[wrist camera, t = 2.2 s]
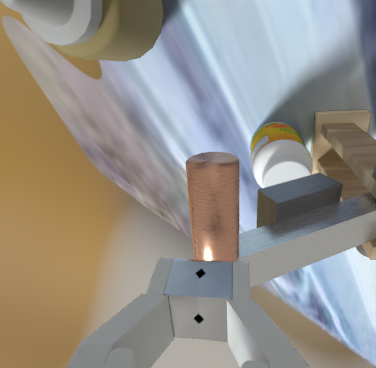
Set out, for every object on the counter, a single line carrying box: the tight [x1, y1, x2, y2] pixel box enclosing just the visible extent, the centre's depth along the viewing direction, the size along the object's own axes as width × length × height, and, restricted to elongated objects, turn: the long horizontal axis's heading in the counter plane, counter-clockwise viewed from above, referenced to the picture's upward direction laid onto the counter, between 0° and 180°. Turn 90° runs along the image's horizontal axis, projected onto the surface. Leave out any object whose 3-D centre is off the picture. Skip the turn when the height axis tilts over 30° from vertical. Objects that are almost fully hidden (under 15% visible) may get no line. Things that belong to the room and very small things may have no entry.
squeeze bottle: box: [0, 0, 164, 61], centre depth 21 cm, size 8×8×18 cm
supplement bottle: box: [250, 122, 313, 188], centre depth 29 cm, size 5×5×10 cm
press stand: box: [310, 110, 376, 260], centre depth 25 cm, size 7×5×16 cm
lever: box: [186, 152, 376, 288], centre depth 18 cm, size 10×15×4 cm
